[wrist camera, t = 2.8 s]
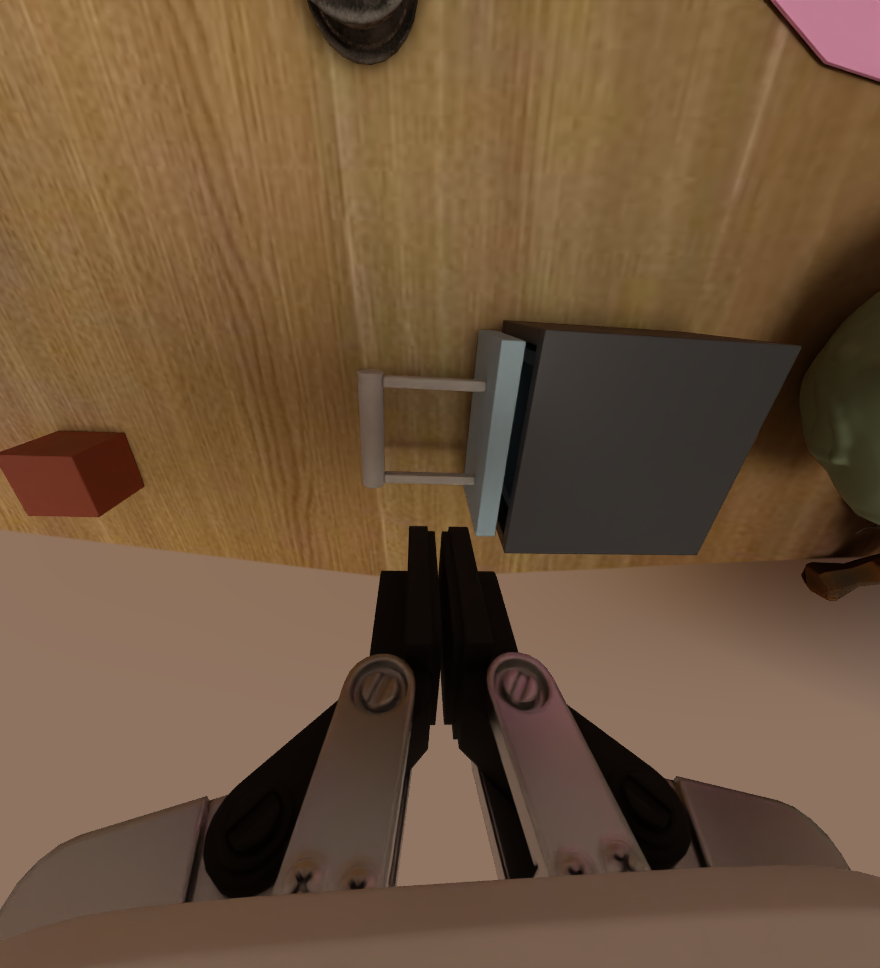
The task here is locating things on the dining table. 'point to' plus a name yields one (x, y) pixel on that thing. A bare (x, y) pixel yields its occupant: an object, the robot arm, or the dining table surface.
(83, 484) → the block
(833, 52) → the platter
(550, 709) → the robot arm
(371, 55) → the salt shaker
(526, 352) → the grey drawer
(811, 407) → the cabbage
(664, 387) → the drawer cabinet
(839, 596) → the toy gun
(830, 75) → the dining table surface
